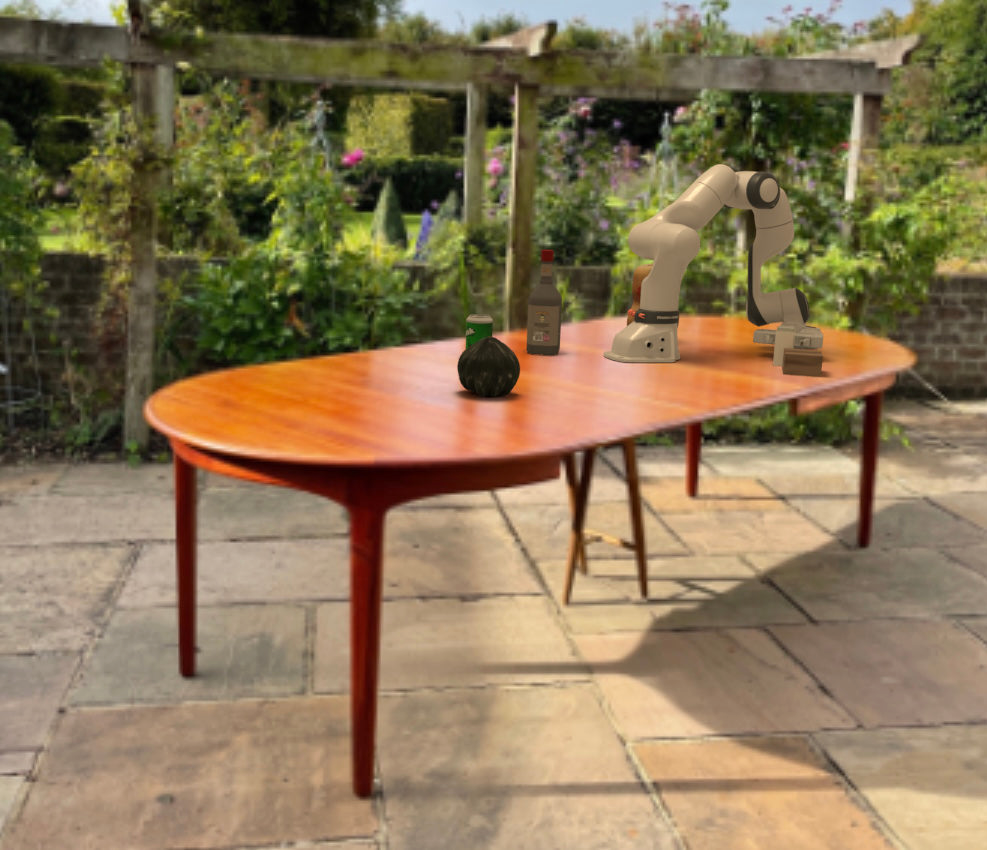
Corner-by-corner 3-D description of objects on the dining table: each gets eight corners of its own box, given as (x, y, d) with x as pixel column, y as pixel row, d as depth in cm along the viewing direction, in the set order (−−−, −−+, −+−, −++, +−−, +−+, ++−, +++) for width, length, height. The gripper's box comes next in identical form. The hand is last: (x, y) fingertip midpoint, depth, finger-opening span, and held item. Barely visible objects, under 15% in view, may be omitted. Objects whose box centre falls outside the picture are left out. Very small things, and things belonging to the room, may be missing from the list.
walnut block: (820, 377, 298) (822, 356, 297) (783, 375, 300) (785, 353, 299) (818, 371, 308) (820, 350, 306) (782, 369, 310) (784, 348, 308)
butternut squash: (619, 342, 346) (623, 263, 340) (634, 337, 357) (639, 260, 352) (660, 347, 340) (666, 266, 334) (674, 342, 351) (680, 263, 345)
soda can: (492, 356, 314) (494, 314, 311) (490, 360, 306) (491, 317, 304) (466, 354, 314) (468, 313, 312) (463, 359, 307) (464, 316, 304)
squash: (491, 362, 272) (467, 321, 262) (539, 373, 263) (516, 331, 253) (461, 405, 266) (436, 365, 256) (509, 417, 257) (484, 376, 247)
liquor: (556, 356, 317) (560, 252, 310) (525, 354, 319) (529, 250, 312) (560, 351, 326) (565, 250, 319) (530, 349, 327) (534, 248, 320)
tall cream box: (790, 367, 312) (794, 329, 309) (772, 365, 314) (776, 327, 311) (792, 364, 316) (795, 326, 314) (774, 363, 318) (778, 325, 316)
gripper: (756, 322, 335) (750, 328, 322) (825, 328, 328) (822, 334, 315) (754, 343, 336) (748, 349, 323) (823, 349, 329) (820, 355, 317)
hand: (785, 341), depth 319 cm, fingers open, 8 cm apart
